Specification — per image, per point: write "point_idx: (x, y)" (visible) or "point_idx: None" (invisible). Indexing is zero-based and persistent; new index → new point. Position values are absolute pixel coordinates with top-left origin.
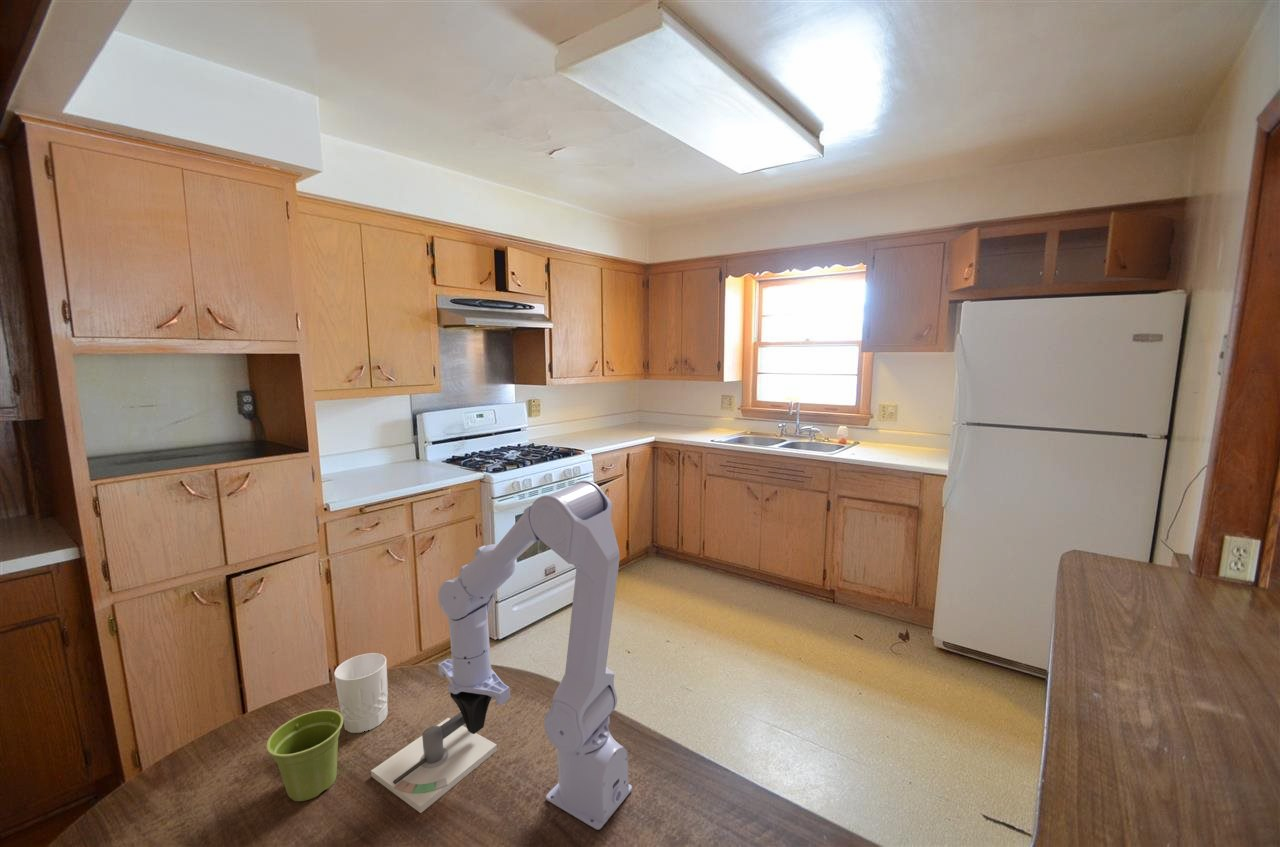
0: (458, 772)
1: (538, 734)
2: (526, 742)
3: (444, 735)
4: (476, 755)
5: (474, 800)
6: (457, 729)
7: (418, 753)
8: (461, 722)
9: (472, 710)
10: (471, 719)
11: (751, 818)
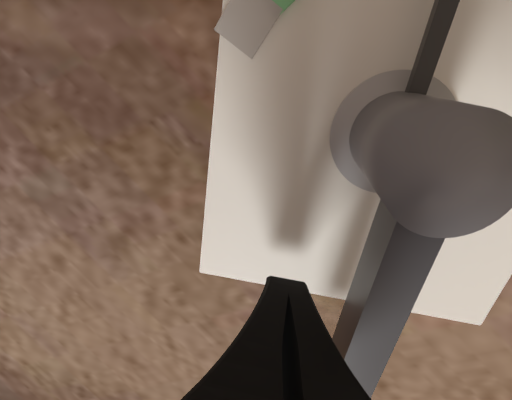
0: (227, 112)
1: (142, 339)
2: (149, 308)
3: (381, 214)
4: (227, 209)
5: (99, 47)
6: None
7: None
8: (350, 308)
9: (184, 397)
10: (244, 330)
11: None
